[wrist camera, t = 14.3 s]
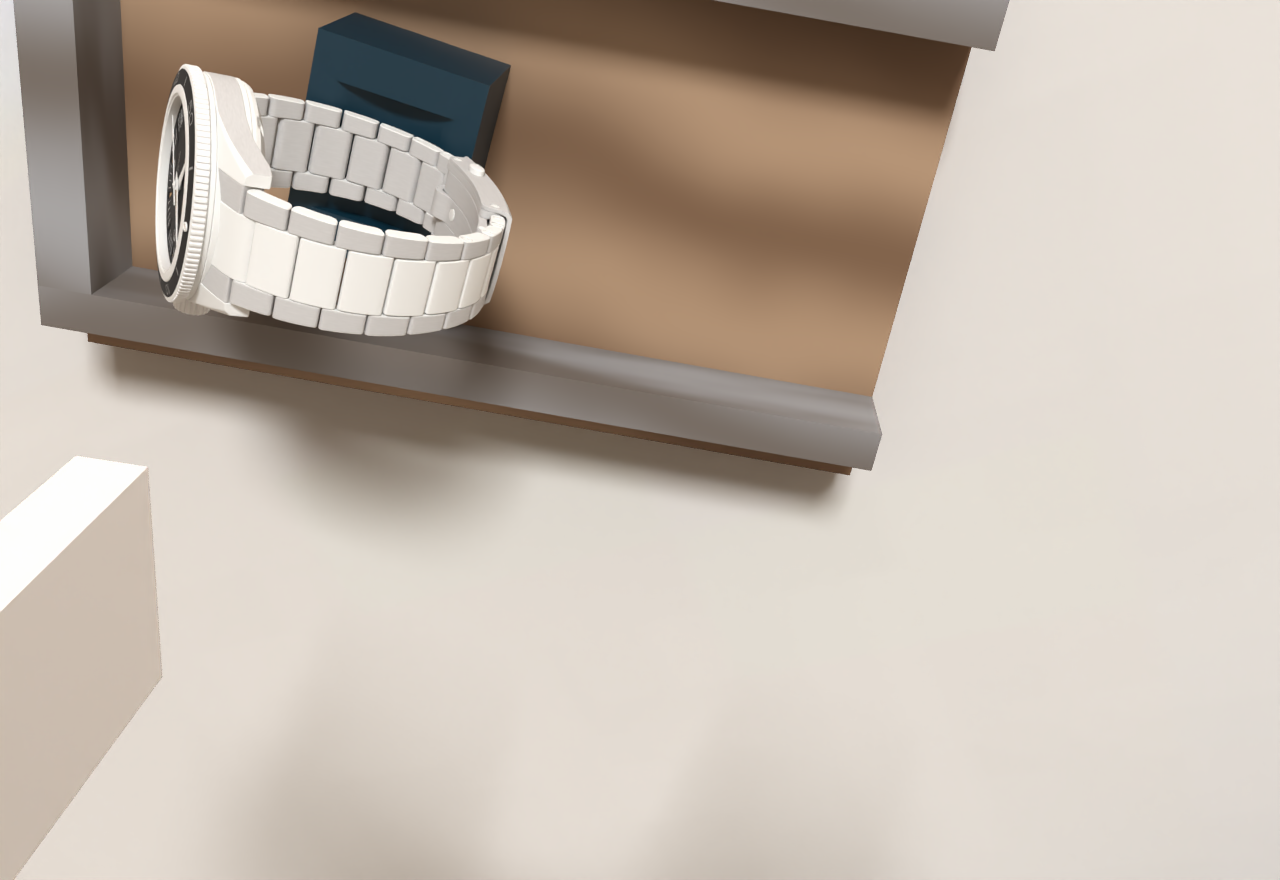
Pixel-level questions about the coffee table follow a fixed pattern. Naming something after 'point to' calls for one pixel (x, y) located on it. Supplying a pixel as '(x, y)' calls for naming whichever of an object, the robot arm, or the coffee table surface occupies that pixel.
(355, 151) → the watch
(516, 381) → the wooden tray
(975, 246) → the coffee table surface
